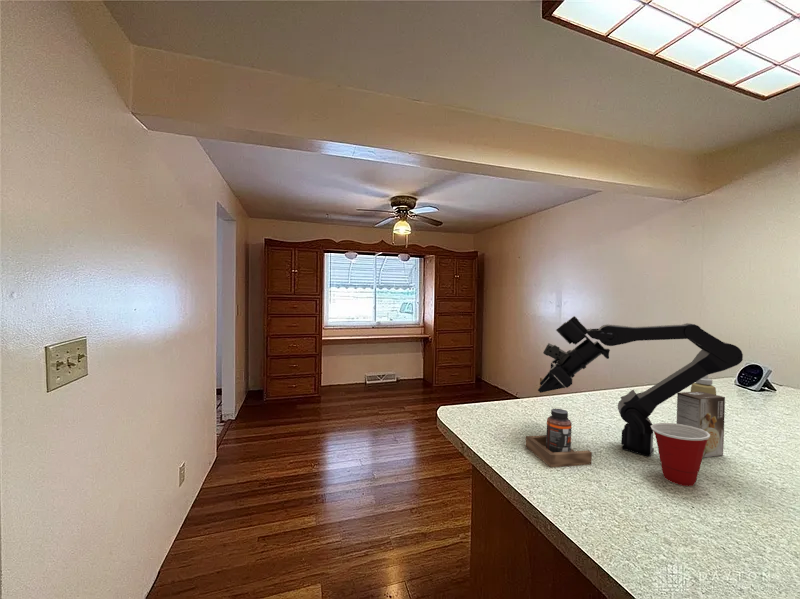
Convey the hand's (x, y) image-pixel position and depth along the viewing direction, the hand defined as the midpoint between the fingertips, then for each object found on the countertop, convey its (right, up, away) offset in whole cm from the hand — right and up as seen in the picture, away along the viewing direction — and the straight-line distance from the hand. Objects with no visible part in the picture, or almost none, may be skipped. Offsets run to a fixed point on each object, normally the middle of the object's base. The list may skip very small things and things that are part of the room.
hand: (539, 387), depth 107 cm
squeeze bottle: (+65, -16, +17) cm, 69 cm away
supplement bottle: (-2, -13, -16) cm, 21 cm away
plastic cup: (+21, -15, -27) cm, 37 cm away
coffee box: (+40, -15, -11) cm, 44 cm away
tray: (-2, -14, -16) cm, 21 cm away
